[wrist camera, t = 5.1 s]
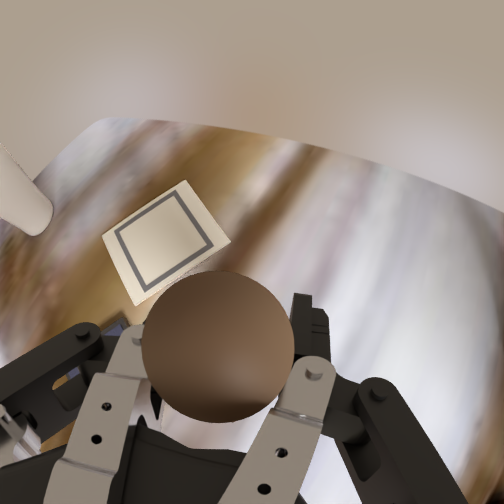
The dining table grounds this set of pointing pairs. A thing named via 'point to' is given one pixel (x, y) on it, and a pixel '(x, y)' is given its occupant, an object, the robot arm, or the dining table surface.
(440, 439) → the dining table surface
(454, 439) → the dining table surface
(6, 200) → the drinking glass
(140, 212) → the label card
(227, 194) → the dining table surface
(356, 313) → the dining table surface
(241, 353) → the stamp
